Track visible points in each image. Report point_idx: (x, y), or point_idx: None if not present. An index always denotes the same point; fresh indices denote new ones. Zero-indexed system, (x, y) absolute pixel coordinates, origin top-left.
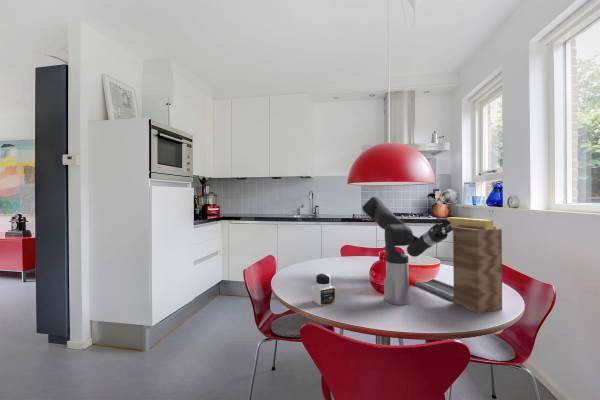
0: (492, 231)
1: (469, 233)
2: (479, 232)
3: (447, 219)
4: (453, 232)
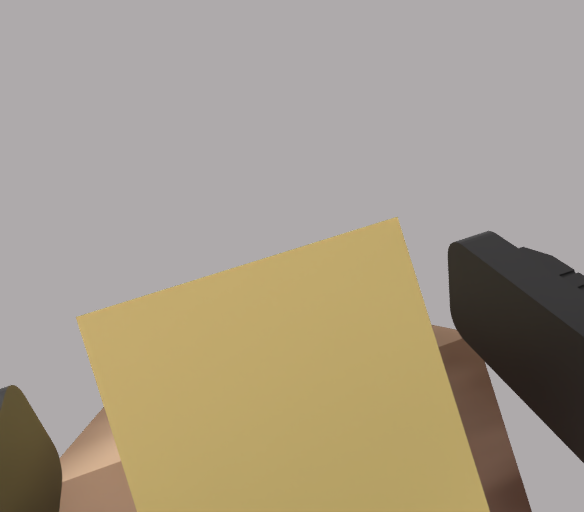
0: None
1: None
2: None
3: (410, 292)
4: (495, 408)
